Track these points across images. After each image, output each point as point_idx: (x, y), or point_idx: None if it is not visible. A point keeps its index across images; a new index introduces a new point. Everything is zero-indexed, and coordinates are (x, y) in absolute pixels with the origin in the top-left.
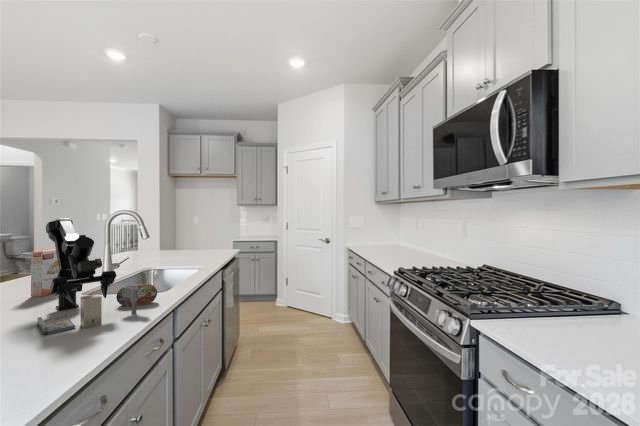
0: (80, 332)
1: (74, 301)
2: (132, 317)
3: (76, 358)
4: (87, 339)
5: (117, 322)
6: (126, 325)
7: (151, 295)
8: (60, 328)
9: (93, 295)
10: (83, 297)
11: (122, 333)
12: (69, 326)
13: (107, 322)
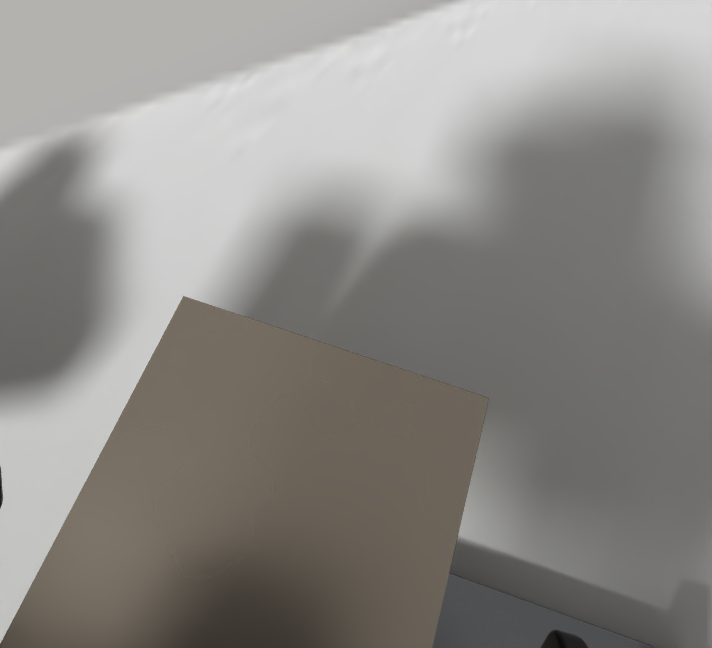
0: None
1: (573, 644)
2: (4, 333)
3: (650, 54)
4: (504, 219)
5: None
6: (200, 209)
7: None
8: (566, 628)
9: (168, 573)
10: (398, 620)
11: (330, 113)
12: (489, 596)
13: None
